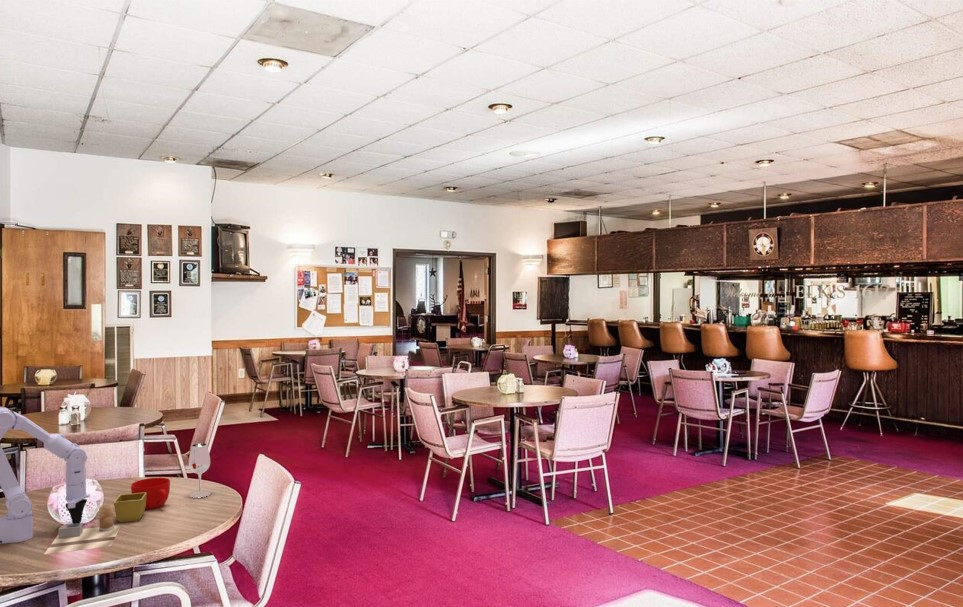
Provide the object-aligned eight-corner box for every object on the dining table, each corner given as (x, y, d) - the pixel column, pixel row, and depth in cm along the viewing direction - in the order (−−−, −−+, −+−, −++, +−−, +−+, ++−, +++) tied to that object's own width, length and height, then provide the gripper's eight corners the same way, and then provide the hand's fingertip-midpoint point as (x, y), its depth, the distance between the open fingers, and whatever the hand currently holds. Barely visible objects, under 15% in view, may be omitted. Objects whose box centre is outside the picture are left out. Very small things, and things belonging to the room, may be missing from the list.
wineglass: (189, 493, 266) (188, 443, 265) (210, 491, 269) (209, 441, 268) (189, 499, 258) (188, 448, 258) (211, 496, 262) (210, 445, 261)
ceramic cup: (147, 520, 236) (147, 492, 236) (124, 510, 246) (124, 483, 246) (183, 510, 246) (182, 483, 246) (159, 501, 257) (159, 475, 256)
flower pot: (113, 528, 229) (113, 502, 228) (120, 519, 237) (119, 494, 237) (142, 525, 231) (141, 499, 231) (147, 517, 239) (147, 492, 239)
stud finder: (58, 538, 215) (58, 528, 215) (61, 534, 219) (61, 524, 219) (79, 536, 217) (79, 526, 217) (82, 531, 221) (82, 522, 221)
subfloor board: (43, 559, 203) (43, 554, 203) (60, 536, 222) (60, 531, 222) (110, 550, 209) (110, 546, 209) (121, 528, 228) (121, 524, 228)
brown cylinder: (97, 532, 221) (97, 509, 220) (100, 527, 225) (99, 505, 225) (112, 530, 222) (112, 508, 222) (115, 526, 226) (114, 504, 226)
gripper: (84, 487, 221) (85, 528, 221) (93, 476, 234) (94, 514, 235) (60, 490, 218) (61, 531, 219) (70, 478, 232) (71, 517, 232)
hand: (76, 522), depth 226 cm, fingers closed
